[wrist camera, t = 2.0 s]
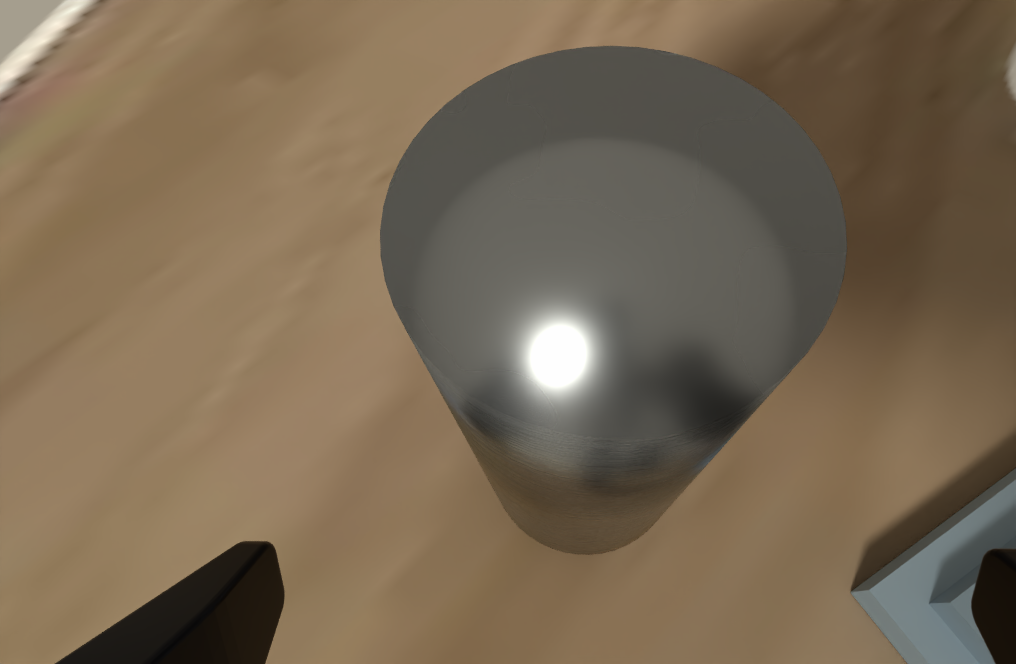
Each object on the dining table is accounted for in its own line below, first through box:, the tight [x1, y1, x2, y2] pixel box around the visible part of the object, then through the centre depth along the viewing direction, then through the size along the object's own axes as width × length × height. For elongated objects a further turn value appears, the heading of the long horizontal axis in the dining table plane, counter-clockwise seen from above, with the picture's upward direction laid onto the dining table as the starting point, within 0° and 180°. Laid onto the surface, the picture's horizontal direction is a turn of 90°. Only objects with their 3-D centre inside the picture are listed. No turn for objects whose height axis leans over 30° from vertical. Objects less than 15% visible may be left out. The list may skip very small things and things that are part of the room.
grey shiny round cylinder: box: [380, 46, 847, 555], centre depth 14 cm, size 6×6×13 cm
